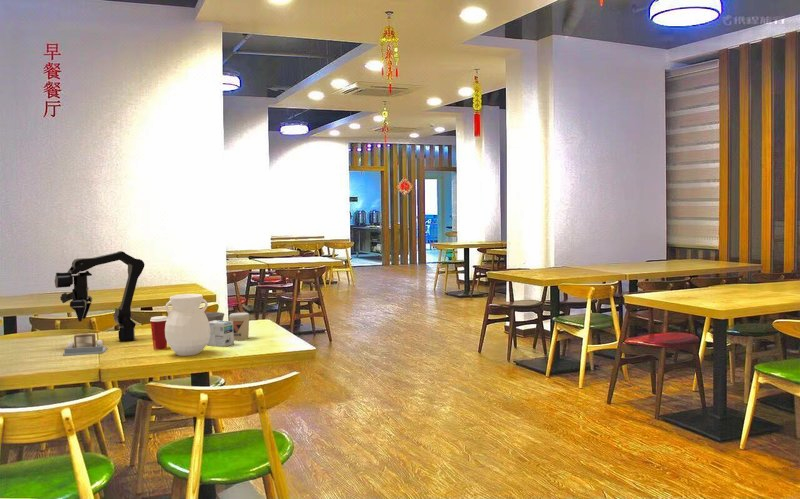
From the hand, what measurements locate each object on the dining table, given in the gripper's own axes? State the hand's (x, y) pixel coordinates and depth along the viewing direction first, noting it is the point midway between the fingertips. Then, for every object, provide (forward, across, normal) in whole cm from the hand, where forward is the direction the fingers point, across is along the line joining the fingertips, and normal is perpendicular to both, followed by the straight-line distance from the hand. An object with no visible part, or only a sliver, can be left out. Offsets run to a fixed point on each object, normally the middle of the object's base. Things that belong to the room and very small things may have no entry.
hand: (82, 319), depth 312 cm
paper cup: (+12, +19, +35) cm, 42 cm away
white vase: (+12, +36, +48) cm, 61 cm away
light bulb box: (+12, +20, +61) cm, 65 cm away
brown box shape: (+11, +17, +4) cm, 21 cm away
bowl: (+12, -13, +53) cm, 56 cm away
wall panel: (+12, +16, +4) cm, 21 cm away
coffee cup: (+12, +8, +70) cm, 71 cm away
